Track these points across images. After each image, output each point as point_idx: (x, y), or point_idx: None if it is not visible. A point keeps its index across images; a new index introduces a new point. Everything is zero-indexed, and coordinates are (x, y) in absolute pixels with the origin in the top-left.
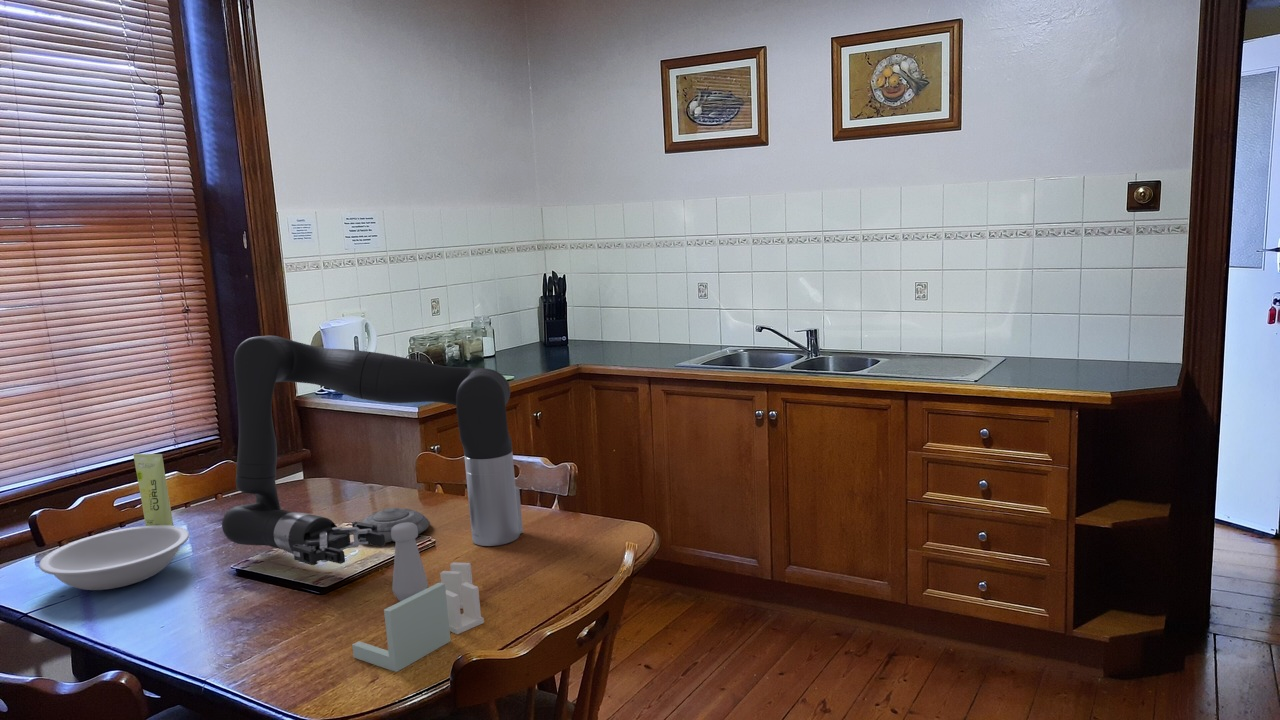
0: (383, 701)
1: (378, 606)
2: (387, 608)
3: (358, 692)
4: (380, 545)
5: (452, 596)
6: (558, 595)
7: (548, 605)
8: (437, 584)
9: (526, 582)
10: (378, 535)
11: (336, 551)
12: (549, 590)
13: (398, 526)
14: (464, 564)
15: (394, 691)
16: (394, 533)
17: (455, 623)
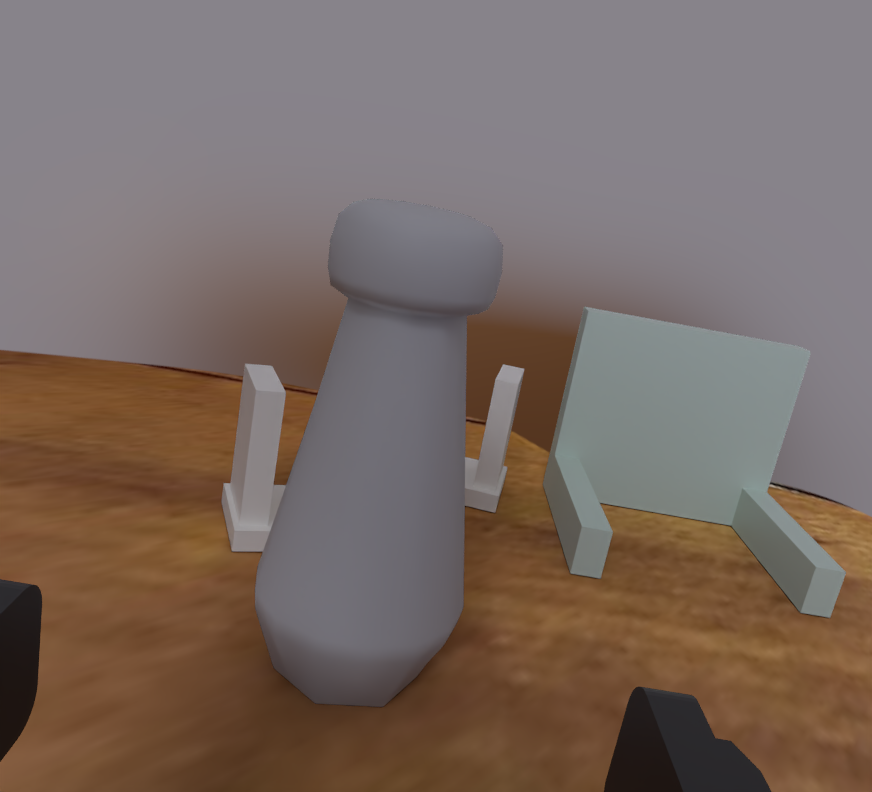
0: (823, 504)
1: (504, 761)
2: (798, 349)
3: (869, 544)
4: (22, 715)
5: (522, 369)
6: (165, 390)
7: (239, 398)
8: (601, 312)
9: (61, 435)
10: (14, 606)
11: (710, 742)
12: (130, 401)
13: (461, 214)
14: (266, 371)
15: (785, 502)
16: (502, 253)
17: (505, 454)
